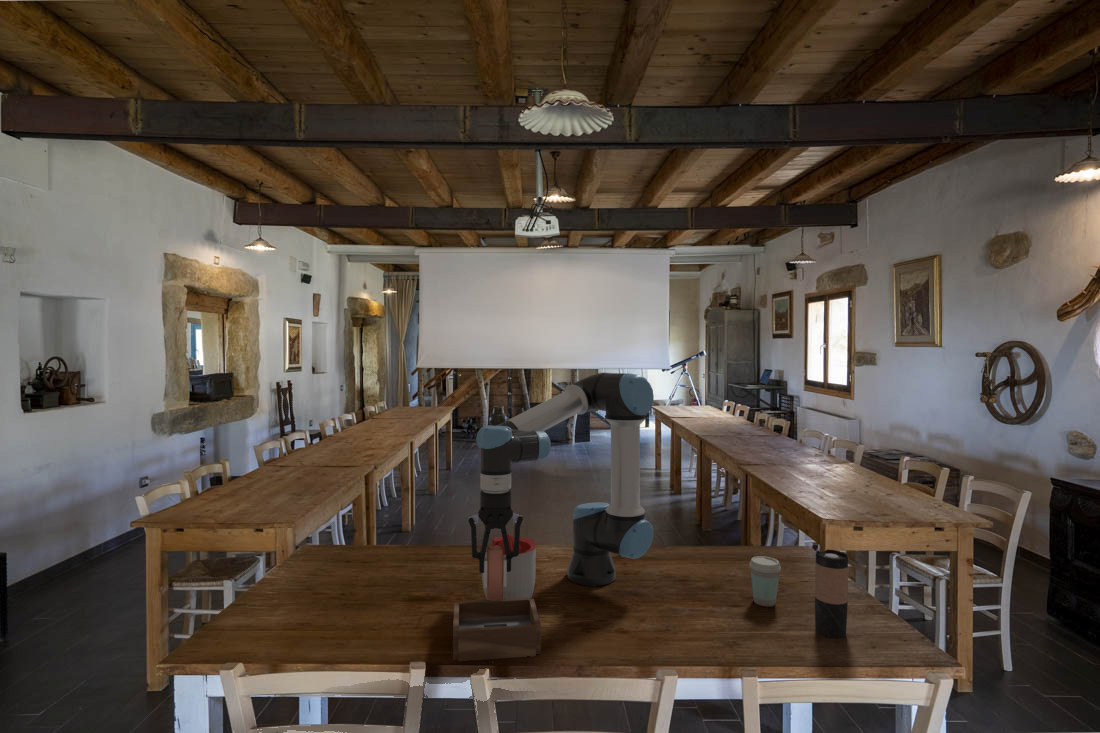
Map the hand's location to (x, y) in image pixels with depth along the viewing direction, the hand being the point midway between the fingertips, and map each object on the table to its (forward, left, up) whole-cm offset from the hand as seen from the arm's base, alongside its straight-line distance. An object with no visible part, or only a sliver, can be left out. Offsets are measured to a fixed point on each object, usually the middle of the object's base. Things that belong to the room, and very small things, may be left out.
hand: (495, 584), depth 147 cm
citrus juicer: (-22, +4, -14) cm, 27 cm away
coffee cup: (-13, +77, -14) cm, 80 cm away
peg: (0, 0, -3) cm, 3 cm away
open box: (0, 0, -14) cm, 14 cm away
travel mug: (+6, +85, -14) cm, 87 cm away
